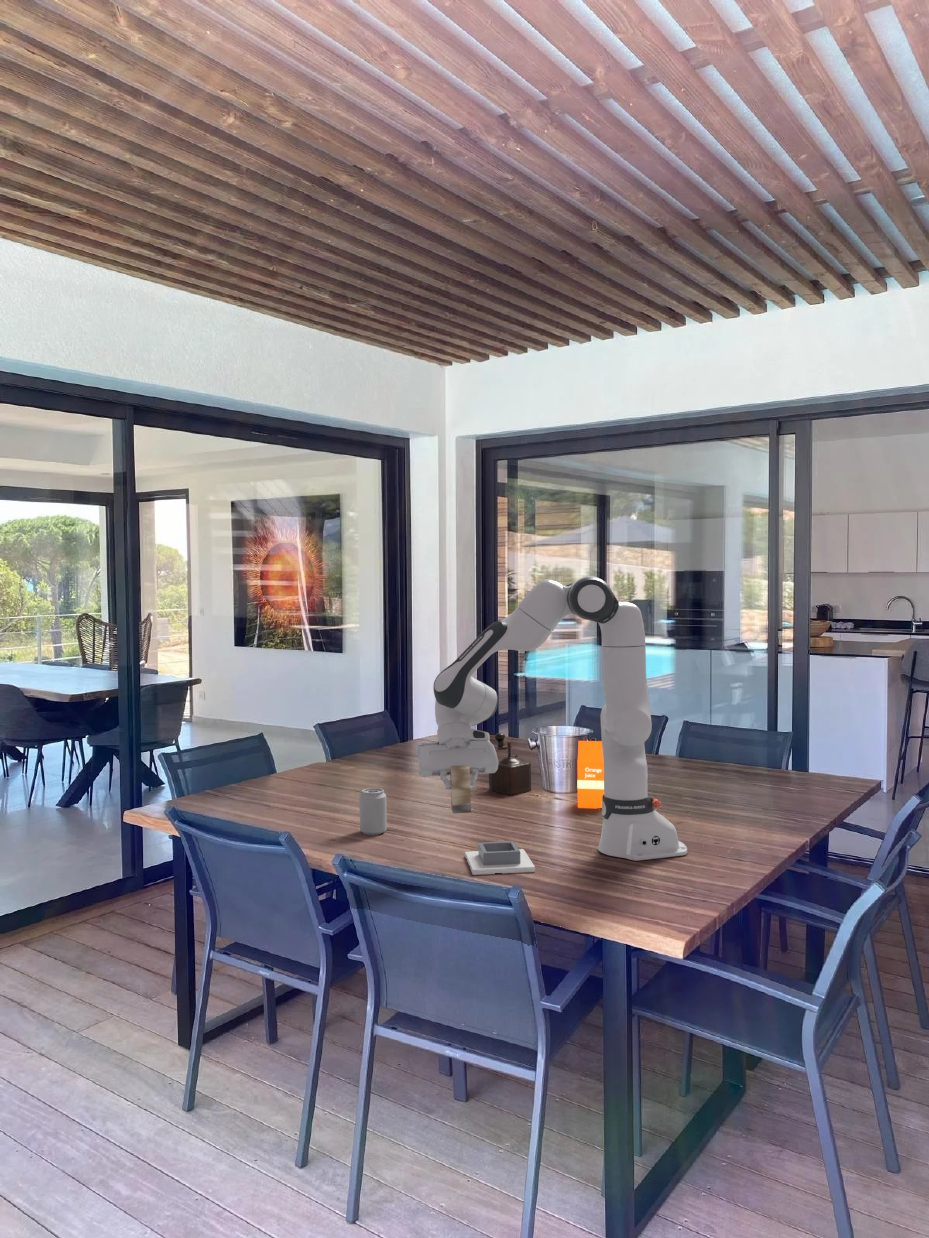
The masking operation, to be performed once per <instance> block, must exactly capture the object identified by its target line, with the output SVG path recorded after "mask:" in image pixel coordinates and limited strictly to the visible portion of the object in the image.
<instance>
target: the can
mask: <svg viewBox="0 0 929 1238" xmlns="http://www.w3.org/2000/svg"><path fill="white" fill-rule="evenodd" d="M387 809H388V807H387V794H386V793H385V790H384V789H383V788H380V787H369V788H365V789H362V790H361V794H360V795H359V831H360V832H361V833H362V834H363V833H364V834H363V835H365V834H368V835H367V836H379V834H380V835H382V834H381V833H383V832H384V833H385V832H386V831H387V829H388V816H387V815H388V811H387ZM384 833H383V834H384Z"/></svg>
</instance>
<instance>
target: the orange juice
mask: <svg viewBox="0 0 929 1238" xmlns="http://www.w3.org/2000/svg"><path fill="white" fill-rule="evenodd" d="M577 745H578V746H577V747H578V748H577V761H576V762H577V779H576V780H577V787H576V788H577V808H578V809H597V808H602V796H603V794H604V761H603V750H602V740H597V741H596V740H578V744H577Z"/></svg>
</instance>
